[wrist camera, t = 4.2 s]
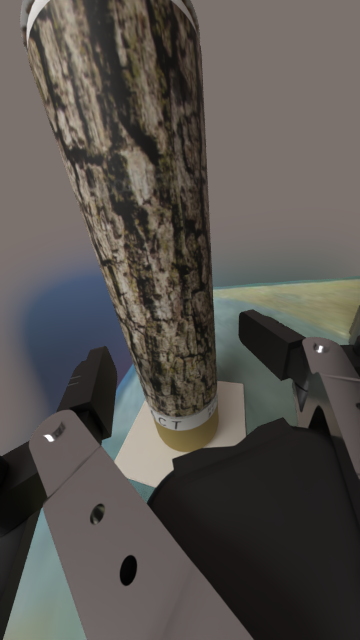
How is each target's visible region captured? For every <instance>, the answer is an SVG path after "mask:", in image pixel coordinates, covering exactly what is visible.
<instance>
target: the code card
mask: <svg viewBox="0 0 360 640" xmlns="http://www.w3.org/2000/svg"><path fill="white" fill-rule="evenodd" d="M217 389H218V415H219V422H218V427H217V431H216V433H215V435H214V437H213V439H212V440H211V441H210V442H209V443H208V444H207V445H206V446H204V447H203V448H209V447H226V446H234V445H236V444H238V443H239V442H240V441H242V440H243V439H244V438H245V437H246V430H245V410H244V390H243V384H240V383H232V382H223V381H217ZM187 453H189V452H179V451H176V450H173V449H172V448H170V447H168V446H167V445H166V444H165V443H164V442H163V441H162V439H161V438H160V436H159V434H158V431H157V428H156V426H155V423H154V420H153V417H152V414H151V412H150V409H149V406H148V403H147V400H145V402H144V404H143V406H142V408H141V410H140V412H139V414H138V416H137V418H136V420H135V422H134V424H133V426H132V428H131V430H130V432H129V433H128V435H127V437H126V439H125V441H124V443H123V445H122V447H121V449H120V451H119V453H118V455H117V457H116V459H115V461H114V463H115V464H116V465H117V466H118V468H119V469H120V470H121V472H122V473H123V474H124V475H125V477H126V478H128V479H131V480H134V481H137V482H140V483H143V484H146V485H149V486H152V487H155V488H156V487H157V486H158V484H159V483H160V482H161V481H162V480H163V479H164V478H165V476H166V475H167V474H169V473H170V472H171V471H172V470H174V468H173V463H172V459H173V458H176V457H179V456H181V455H184V454H187Z"/></svg>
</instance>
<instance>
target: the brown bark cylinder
mask: <svg viewBox="0 0 360 640" xmlns="http://www.w3.org/2000/svg"><path fill="white" fill-rule="evenodd" d="M20 27H21V35H22V40H23V44H24V47H25V50H26V52H27V55H28V57H29V63H30V67H31V70H32V73H33V76H34V78H35V81H36V84H37V87H38V90H39V93H40V96H41V99H42V101H43V104H44V107H45V110H46V113H47V116H48V119H49V121H50V125H51V127H52V130H53V133H54V136H55V139H56V142H57V145H58V148H59V150H60V153H61V156H62V159H63V162H64V165H65V167H66V171H67V173H68V176H69V179H70V182H71V185H72V188H73V191H74V194H75V196H76V199H77V202H78V205H79V208H80V211H81V214H82V216H83V219H84V222H85V225H86V228H87V231H88V234H89V236H90V239H91V242H92V245H93V248H94V251H95V254H96V257H97V259H98V262H99V265H100V268H101V271H102V274H103V277H104V279H105V283H106V285H107V288H108V291H109V294H110V297H111V300H112V303H113V306H114V308H115V311H116V314H117V317H118V320H119V322H120V326H121V329H122V331H123V334H124V337H125V340H126V343H127V346H128V349H129V352H130V354H131V357H132V360H133V363H134V366H135V369H136V372H137V375H138V377H139V380H140V383H141V386H142V389H143V392H144V395H145V398H146V400H147V403H148V406H149V409H150V412H151V414H152V417H153V420H154V423H155V426H156V428H157V431H158V434H159V436H160V438H161V439H162V441H163V442H164V443H165V444H166V445H167V446H168V447H170V448H172V449H173V450H176V451H179V452H192V451H195V450H197V449H200V448H203V447H204V446H206V445H207V444H208V443H209V442H210V441H211V440H212V439H213V437H214V435H215V433H216V431H217V427H218V422H219V415H218V389H217V369H216V348H215V327H214V306H213V286H212V265H211V243H210V223H209V201H208V181H207V159H206V139H205V118H204V98H203V78H202V77H203V76H202V57H201V46H200V32H199V24H198V20H197V16H196V13H195V10H194V7H193V5H192V3H191V1H190V0H23V3H22V7H21V14H20Z"/></svg>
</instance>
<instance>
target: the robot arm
mask: <svg viewBox="0 0 360 640" xmlns="http://www.w3.org/2000/svg"><path fill="white" fill-rule="evenodd" d="M349 333H350V334H351V336H350V339H349V343H350V345H339V344H337V343H336V342H334V341H331V340H329V339H325V338H321V337H308V338H306V337H304V336H302V335H301V334H299V333H297V332H295V331H294V330H292V329H290V328H289V327H287V326H285V325H283V324H282V323H279V322H278V321H276V320H275V319H273V318H271V317H268V316H264V315H262V314H260V313H258V312H257V311H255V310H248V311H244V312H241V313H240V314H239V338H240V341H241V342H242V344H243V345H245V346H246V347H247V348H248V349H249V350H250V351H251V352H252V353H253V354H254V355H255V356H256V357H257V358H258V359H259V360H260V361H261V362H262V363H263V364H264V365H265V366H266V367H267V368H268V369H269V370H270V371H271V372H272V373H273V374H274V375H276V376H277V377H278V378H279V379H280V380H281V381H282V380H285V379H288V378H291V379H292V380H293V382H292V388H293V394H294V400H295V406H296V412H297V418H298V426H297V427H296V426H290V425H289V424H288V423H287V422H286V420H285V419H284V418H280V419H277V420H275V421H272V422H269V423H267V424H264V425H261V426H259V427H257V428H256V429H255V430H254V431H252V432H251V433H250V434H249V435H248V436H246V437H245V438H244V439H243V440H242V441H240V442H239V443H238V444H236V445H234V446H226V447H209V448H200V449H197V450H195V451H192V452H189V453H187V454H184V455H181V456H179V457H176V458H173V459H172V463H173V468H174V470H172V471H171V472H170V473H169V474H167V475H166V476H165V478H164V479H163V480H162V481H161V482H160V483H159V484H158V486H157V487H156V488H155V490H154V491H153V493H152V494H151V496H150V498H149V500H148V501H147V503H146V502H145V501H144V500H143V499H142V497H141V496H140V495H139V493H138V492H137V491H136V490H135V488H134V487H133V486H132V484H131V483H130V482H129V481H128V479H127V478H126V477H125V475H124V474H123V473H122V472H121V470H120V469H119V468H118V466H117V465H116V464H115V463H114V461H113V460H112V459H111V457H110V456H109V455H108V454H107V452H106V451H105V450H104V448H103V447H102V446H101V443H102V440H103V439H106V438H109V437H111V434H112V424H113V414H114V405H115V395H116V385H117V371H116V368H115V365H114V362H113V360H112V358H111V355H110V353H109V351H108V349H107V347H106V346H104V347H99V348H95V349H92V350H90V352H89V355H88V357H87V360H86V361H82V362H81V363H80V364H79V365H78V366H77V367H76V369H75V370H74V372H73V375H72V377H71V379H70V382H69V384H68V385H69V386H67V388H66V391H65V393H64V395H63V398H62V400H61V402H60V405H59V407H58V409H57V412H56V413H55V414H53V415H51V416H50V417H48V418H47V419H46V420H44V421H43V422H42V423H41V424H40V425H39V426H38V427H37V429H36V430H35V431H34V433H33V434H32V436H31V438H30V440H29V441H28V442H26V443H24V444H23V445H21V446H19V447H18V448H15V449H14V450H12V451H10V452H8V453H7V454H5V455H3V456H0V640H3V637H4V634H5V631H6V627H7V624H8V620H9V617H10V613H11V610H12V607H13V603H14V600H15V596H16V593H17V589H18V586H19V583H20V579H21V576H22V572H23V569H24V565H25V562H26V559H27V555H28V552H29V548H30V545H31V541H32V538H33V535H34V531H35V528H36V524H37V521H38V517H39V514H40V511H41V508H42V507H43V511H44V514H45V517H46V520H47V523H48V526H49V529H50V532H51V535H52V538H53V541H54V544H55V547H56V550H57V553H58V556H59V559H60V562H61V565H62V568H63V571H64V573H65V576H66V579H67V582H68V585H69V588H70V591H71V594H72V597H73V600H74V603H75V606H76V609H77V612H78V615H79V618H80V621H81V624H82V627H83V630H84V632H85V635H86V638H87V640H360V305H359V308H358V310H357V313H356V316H355V318H354V321H353V323H352V326H351V328H350V331H349Z"/></svg>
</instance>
